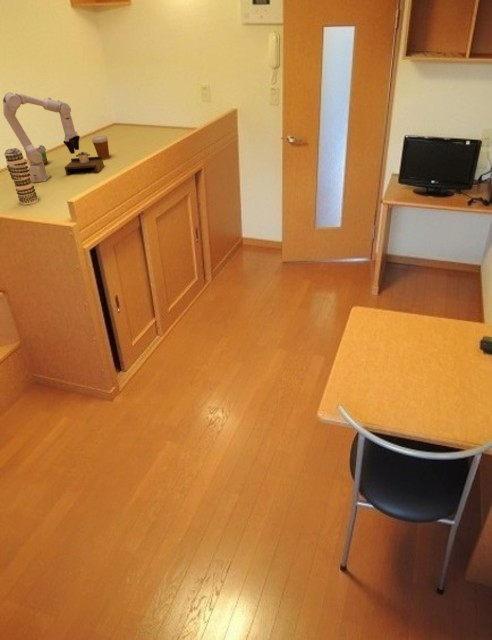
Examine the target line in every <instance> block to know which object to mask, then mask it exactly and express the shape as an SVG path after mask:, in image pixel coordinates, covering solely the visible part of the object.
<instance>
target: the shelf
mask: <svg viewBox="0 0 492 640" xmlns="http://www.w3.org/2000/svg"><path fill="white" fill-rule="evenodd" d="M88 158H89V162H87V163H80V161H79V157H73V158H72V157H71V158H70V161H69V163H68V164H66V165H65V166H64V172H65V175H66V176H70V175H71V174H72V173H73V172H74V171H76V170H77V169H90V168H93V169H94V171H95V174H99V173H100V171H102V169H103V168H104V167H105V163H104V159H102V156H99V157H98V156H88Z"/></svg>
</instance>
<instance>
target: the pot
mask: <svg viewBox="0 0 492 640" xmlns="http://www.w3.org/2000/svg"><path fill="white" fill-rule="evenodd" d="M88 157H91V154H90V153H88V152H87V151H81V152H79V153H77V154H76V155H75V158H79V161H80V163H87V162H89V158H88Z"/></svg>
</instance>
